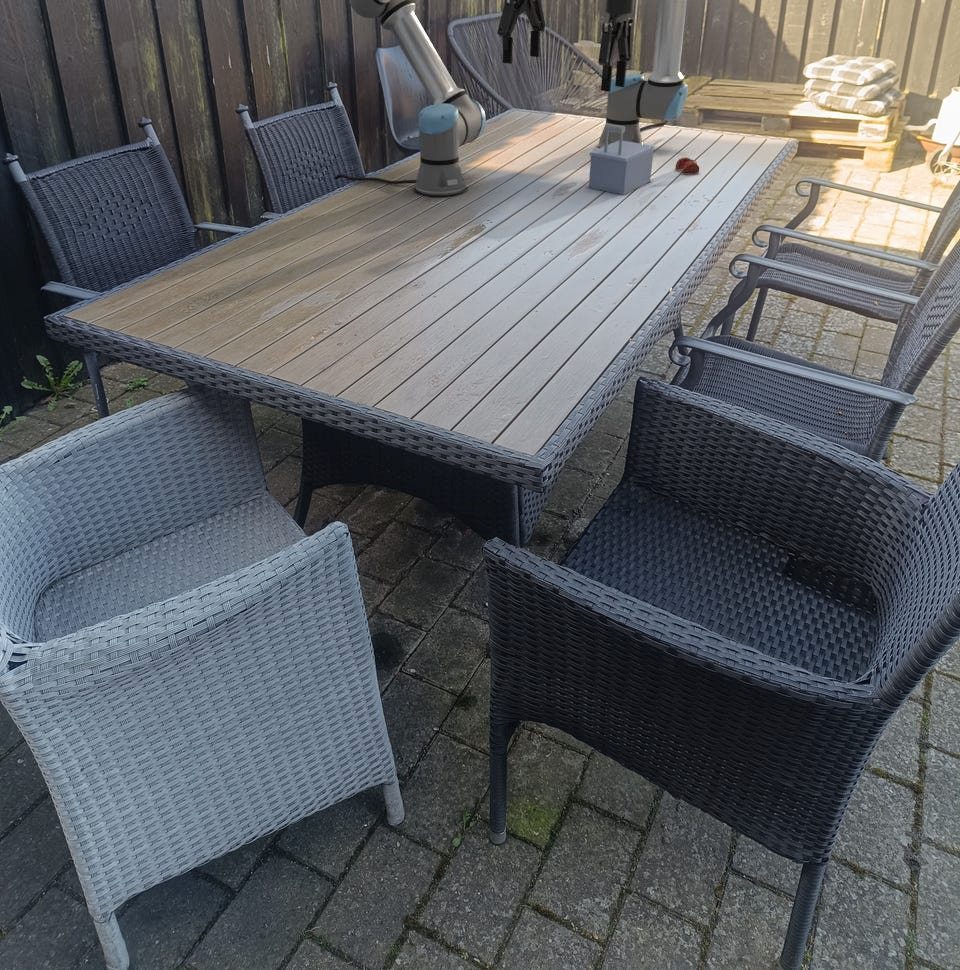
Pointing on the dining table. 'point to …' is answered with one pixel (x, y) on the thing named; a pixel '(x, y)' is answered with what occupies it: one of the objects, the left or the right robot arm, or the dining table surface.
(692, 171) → the dark red rounded lump
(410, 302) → the dining table surface
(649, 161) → the chest
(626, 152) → the lid
